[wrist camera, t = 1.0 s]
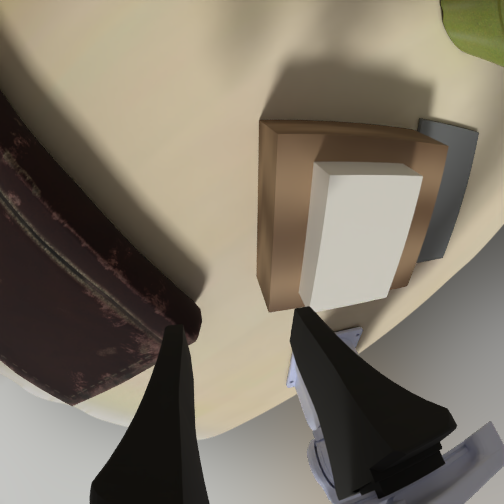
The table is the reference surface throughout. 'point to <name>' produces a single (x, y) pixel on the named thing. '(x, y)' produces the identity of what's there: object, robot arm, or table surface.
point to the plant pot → (476, 27)
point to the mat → (447, 184)
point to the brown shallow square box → (299, 191)
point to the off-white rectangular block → (356, 231)
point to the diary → (73, 281)
